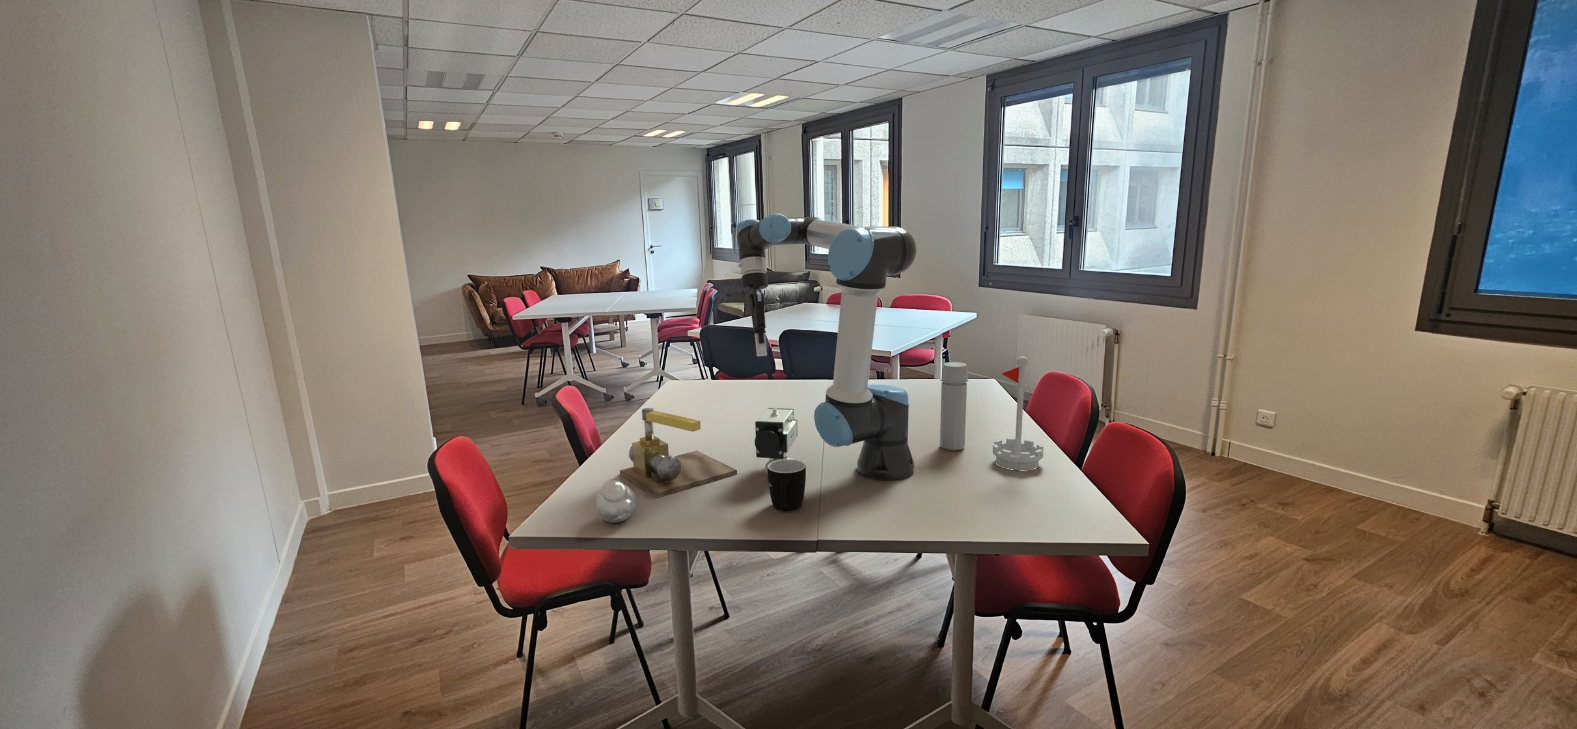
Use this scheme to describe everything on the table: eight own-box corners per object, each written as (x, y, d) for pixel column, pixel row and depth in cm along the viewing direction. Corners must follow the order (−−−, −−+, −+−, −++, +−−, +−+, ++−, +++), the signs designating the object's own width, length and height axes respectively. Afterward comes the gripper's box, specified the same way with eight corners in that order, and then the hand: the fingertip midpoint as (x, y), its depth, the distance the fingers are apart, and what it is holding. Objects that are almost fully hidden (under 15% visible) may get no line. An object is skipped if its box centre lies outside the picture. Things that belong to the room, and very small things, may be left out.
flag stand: (1044, 459, 184) (1050, 353, 178) (1040, 475, 172) (1047, 362, 166) (995, 453, 189) (1000, 350, 183) (988, 469, 177) (993, 359, 171)
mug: (771, 498, 161) (770, 458, 159) (808, 499, 160) (807, 459, 158) (763, 519, 150) (762, 477, 148) (803, 520, 149) (802, 478, 147)
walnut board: (656, 497, 163) (655, 493, 163) (620, 474, 179) (619, 470, 179) (737, 474, 178) (736, 469, 177) (697, 454, 194) (696, 450, 193)
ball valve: (787, 486, 168) (785, 419, 165) (754, 484, 170) (752, 418, 167) (801, 462, 186) (799, 400, 182) (771, 460, 187) (769, 399, 184)
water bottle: (967, 452, 191) (970, 367, 186) (939, 451, 192) (941, 366, 187) (964, 441, 200) (966, 360, 195) (937, 441, 201) (939, 360, 196)
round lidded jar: (589, 529, 146) (585, 487, 144) (606, 511, 156) (603, 471, 154) (628, 531, 145) (625, 488, 143) (643, 513, 154) (640, 472, 152)
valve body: (658, 486, 167) (655, 432, 164) (628, 468, 180) (625, 418, 177) (682, 479, 171) (679, 427, 168) (652, 462, 184) (649, 413, 182)
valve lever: (640, 419, 174) (639, 409, 173) (648, 416, 176) (648, 407, 176) (692, 432, 162) (692, 421, 162) (701, 428, 165) (700, 418, 164)
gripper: (738, 280, 196) (746, 359, 194) (743, 269, 183) (751, 353, 181) (763, 279, 198) (771, 357, 195) (770, 267, 184) (778, 351, 182)
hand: (762, 355), depth 188 cm, fingers closed
